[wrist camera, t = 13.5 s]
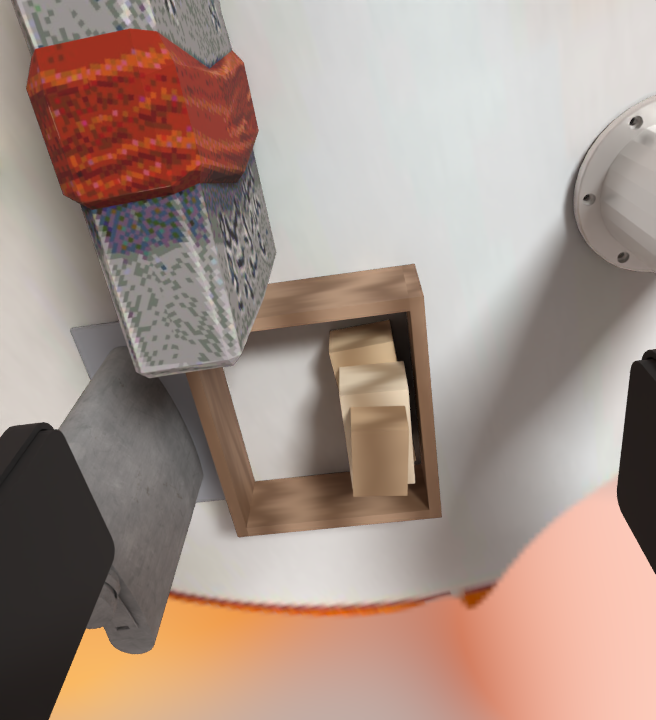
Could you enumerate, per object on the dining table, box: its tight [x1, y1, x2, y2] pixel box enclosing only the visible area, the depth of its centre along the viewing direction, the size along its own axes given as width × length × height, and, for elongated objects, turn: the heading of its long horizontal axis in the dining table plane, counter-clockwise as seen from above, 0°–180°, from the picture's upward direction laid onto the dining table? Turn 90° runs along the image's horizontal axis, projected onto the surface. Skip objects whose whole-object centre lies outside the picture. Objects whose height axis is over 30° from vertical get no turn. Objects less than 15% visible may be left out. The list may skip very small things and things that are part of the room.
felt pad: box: [70, 322, 226, 502], centre depth 55 cm, size 9×20×1 cm, turn 9°
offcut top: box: [350, 406, 409, 497], centre depth 45 cm, size 4×6×3 cm, turn 3°
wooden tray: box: [185, 264, 442, 537], centre depth 50 cm, size 18×21×6 cm
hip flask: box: [58, 346, 203, 654], centre depth 46 cm, size 16×4×20 cm, turn 17°
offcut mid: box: [339, 361, 415, 488], centre depth 48 cm, size 5×9×4 cm, turn 7°
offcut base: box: [329, 320, 416, 461], centre depth 51 cm, size 5×12×4 cm, turn 13°
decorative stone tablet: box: [11, 0, 276, 378], centre depth 31 cm, size 19×6×30 cm
